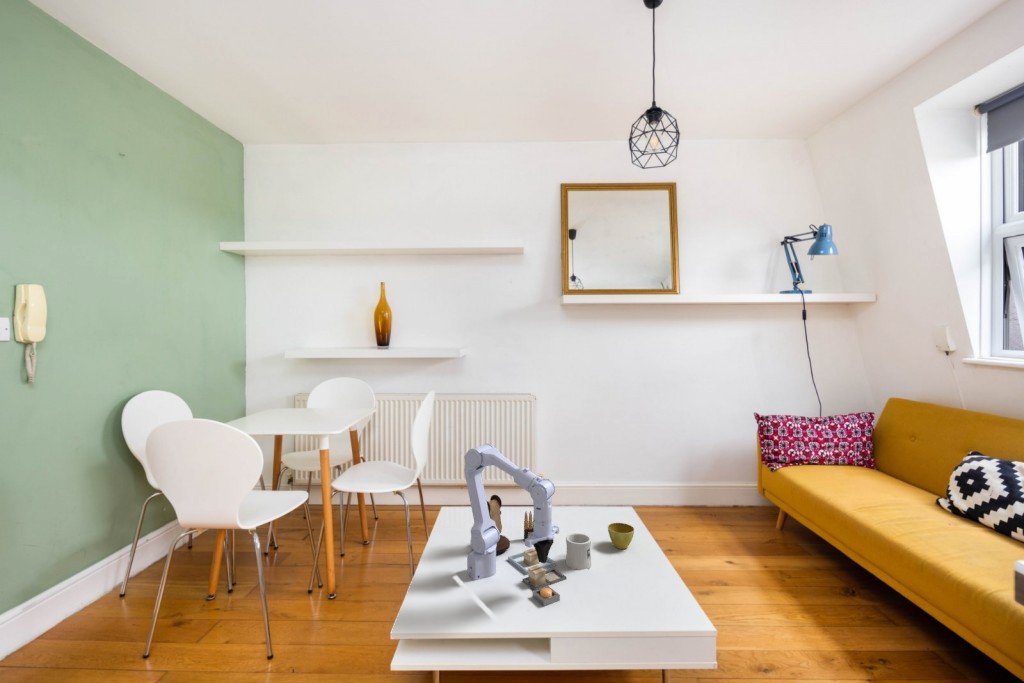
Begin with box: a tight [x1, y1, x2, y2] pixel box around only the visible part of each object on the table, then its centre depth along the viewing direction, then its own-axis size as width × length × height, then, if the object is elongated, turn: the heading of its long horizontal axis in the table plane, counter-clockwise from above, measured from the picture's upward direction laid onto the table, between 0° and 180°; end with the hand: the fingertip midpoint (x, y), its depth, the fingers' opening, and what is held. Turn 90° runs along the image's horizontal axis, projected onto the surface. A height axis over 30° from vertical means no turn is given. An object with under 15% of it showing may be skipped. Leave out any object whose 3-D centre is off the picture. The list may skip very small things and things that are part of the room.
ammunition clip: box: [523, 510, 534, 542], centre depth 184 cm, size 11×2×12 cm, turn 90°
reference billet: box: [527, 564, 546, 587], centre depth 151 cm, size 4×4×5 cm
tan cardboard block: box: [523, 548, 540, 567], centre depth 164 cm, size 4×4×5 cm
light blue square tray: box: [507, 551, 557, 576], centre depth 165 cm, size 12×12×2 cm
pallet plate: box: [522, 568, 567, 591], centre depth 153 cm, size 14×9×2 cm, turn 122°
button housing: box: [531, 585, 561, 608], centre depth 142 cm, size 6×6×3 cm
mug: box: [565, 532, 592, 571], centre depth 166 cm, size 12×9×10 cm
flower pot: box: [607, 522, 635, 550], centre depth 180 cm, size 10×10×7 cm
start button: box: [540, 588, 552, 599], centre depth 142 cm, size 4×4×3 cm
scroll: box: [470, 494, 511, 555], centre depth 177 cm, size 15×15×20 cm
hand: (542, 561), depth 146 cm, fingers closed
